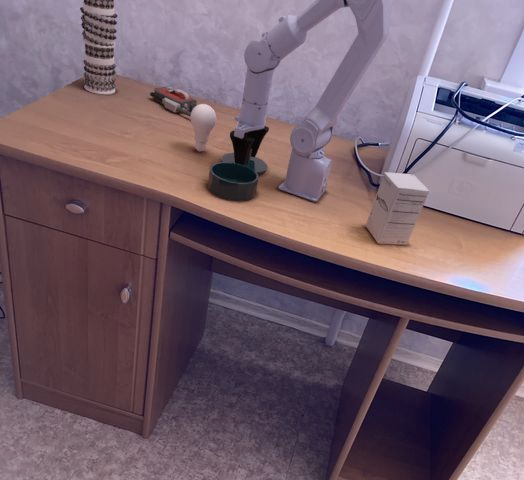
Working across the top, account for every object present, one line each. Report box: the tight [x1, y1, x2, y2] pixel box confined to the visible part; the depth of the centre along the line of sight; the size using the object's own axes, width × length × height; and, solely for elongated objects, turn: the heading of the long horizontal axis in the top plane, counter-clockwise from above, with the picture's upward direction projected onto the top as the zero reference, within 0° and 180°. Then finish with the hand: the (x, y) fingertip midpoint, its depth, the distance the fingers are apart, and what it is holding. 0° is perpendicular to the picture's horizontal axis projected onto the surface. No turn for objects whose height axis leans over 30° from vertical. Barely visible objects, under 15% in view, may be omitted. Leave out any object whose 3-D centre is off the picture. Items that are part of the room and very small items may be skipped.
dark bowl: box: [207, 161, 259, 202], centre depth 115 cm, size 11×11×4 cm
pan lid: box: [220, 147, 268, 175], centre depth 125 cm, size 11×11×5 cm
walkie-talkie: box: [149, 86, 198, 117], centre depth 148 cm, size 9×4×20 cm
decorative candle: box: [79, 0, 118, 95], centre depth 141 cm, size 9×9×25 cm
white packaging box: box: [365, 171, 430, 246], centre depth 109 cm, size 7×7×13 cm
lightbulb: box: [189, 103, 217, 153], centre depth 125 cm, size 6×6×11 cm
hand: (245, 160), depth 126 cm, fingers open, 7 cm apart
